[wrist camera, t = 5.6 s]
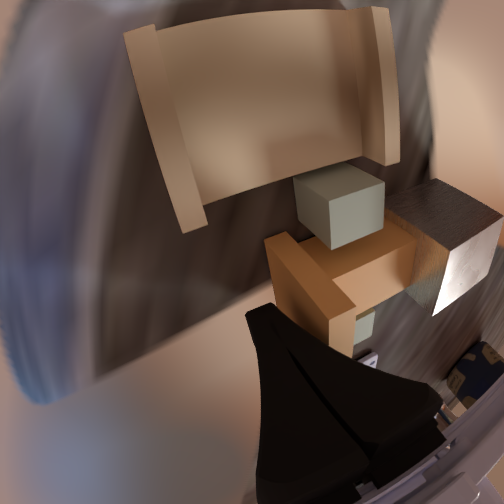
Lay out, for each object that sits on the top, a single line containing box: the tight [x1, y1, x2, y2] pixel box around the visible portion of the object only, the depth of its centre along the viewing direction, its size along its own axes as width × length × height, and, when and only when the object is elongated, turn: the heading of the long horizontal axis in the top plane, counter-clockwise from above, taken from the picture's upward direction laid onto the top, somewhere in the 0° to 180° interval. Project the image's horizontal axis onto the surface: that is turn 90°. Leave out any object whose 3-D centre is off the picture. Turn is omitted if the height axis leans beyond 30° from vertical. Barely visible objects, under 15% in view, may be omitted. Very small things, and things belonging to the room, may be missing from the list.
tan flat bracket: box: [123, 6, 400, 234], centre depth 9 cm, size 6×8×2 cm
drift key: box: [264, 216, 417, 358], centre depth 13 cm, size 4×6×5 cm
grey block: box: [384, 178, 504, 316], centre depth 14 cm, size 4×5×5 cm
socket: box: [293, 162, 385, 345], centre depth 14 cm, size 9×2×3 cm, turn 10°
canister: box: [447, 341, 504, 410], centre depth 32 cm, size 10×10×18 cm
